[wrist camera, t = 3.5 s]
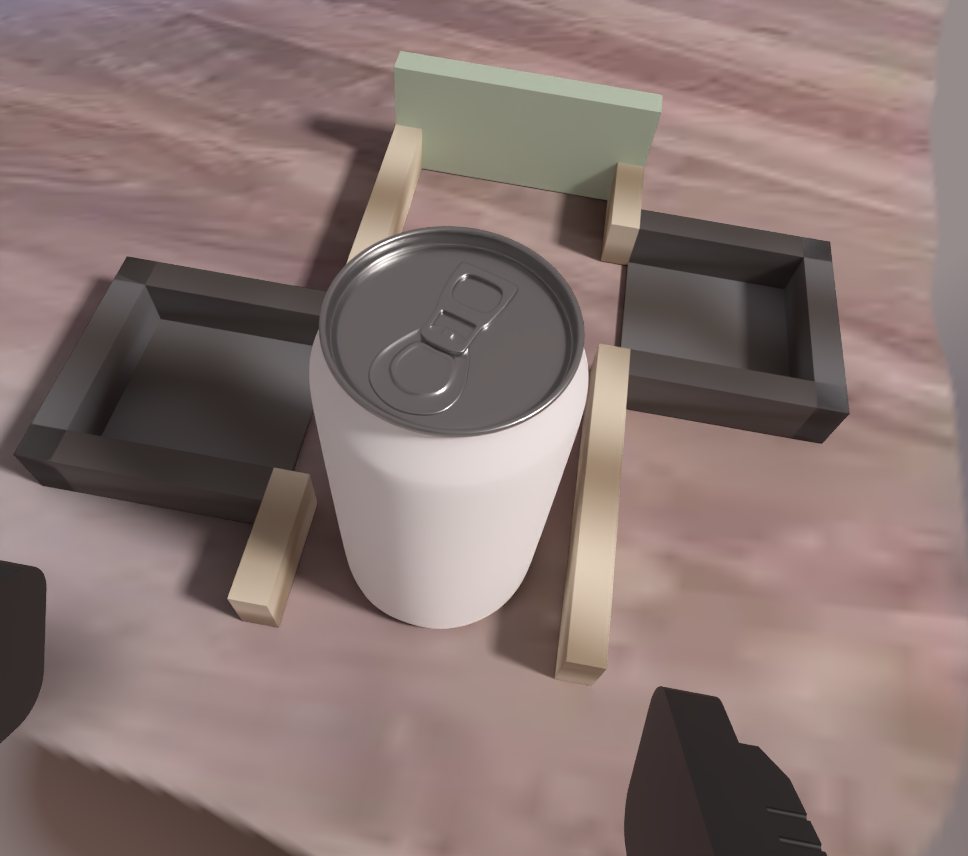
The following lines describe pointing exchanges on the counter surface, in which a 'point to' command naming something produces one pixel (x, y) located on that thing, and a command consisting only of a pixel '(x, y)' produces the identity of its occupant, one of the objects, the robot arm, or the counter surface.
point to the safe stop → (523, 124)
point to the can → (446, 416)
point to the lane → (288, 410)
